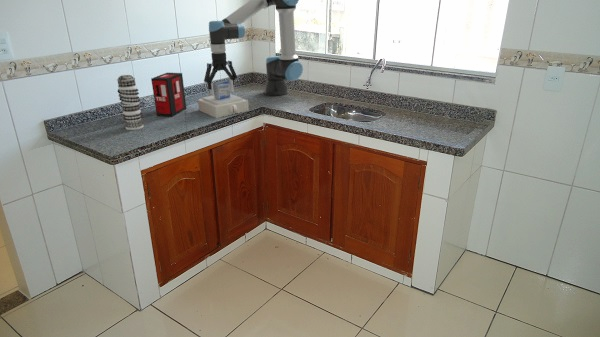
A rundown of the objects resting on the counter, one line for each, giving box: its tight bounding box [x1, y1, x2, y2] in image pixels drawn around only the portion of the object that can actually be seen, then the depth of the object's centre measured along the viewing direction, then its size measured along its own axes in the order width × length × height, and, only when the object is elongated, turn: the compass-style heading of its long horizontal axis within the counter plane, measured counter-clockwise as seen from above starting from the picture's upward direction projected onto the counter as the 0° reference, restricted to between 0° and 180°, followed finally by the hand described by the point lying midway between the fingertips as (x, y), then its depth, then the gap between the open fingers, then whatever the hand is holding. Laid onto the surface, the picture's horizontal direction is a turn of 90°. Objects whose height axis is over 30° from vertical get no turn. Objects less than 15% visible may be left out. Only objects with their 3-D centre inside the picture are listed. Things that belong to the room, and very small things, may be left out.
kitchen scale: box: [197, 93, 250, 119], centre depth 221 cm, size 20×21×7 cm
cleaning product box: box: [151, 72, 187, 118], centre depth 217 cm, size 16×9×20 cm, turn 168°
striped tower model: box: [116, 74, 144, 131], centre depth 192 cm, size 9×9×25 cm
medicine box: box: [212, 80, 231, 99], centre depth 218 cm, size 8×4×9 cm, turn 142°
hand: (222, 93), depth 219 cm, fingers open, 11 cm apart
